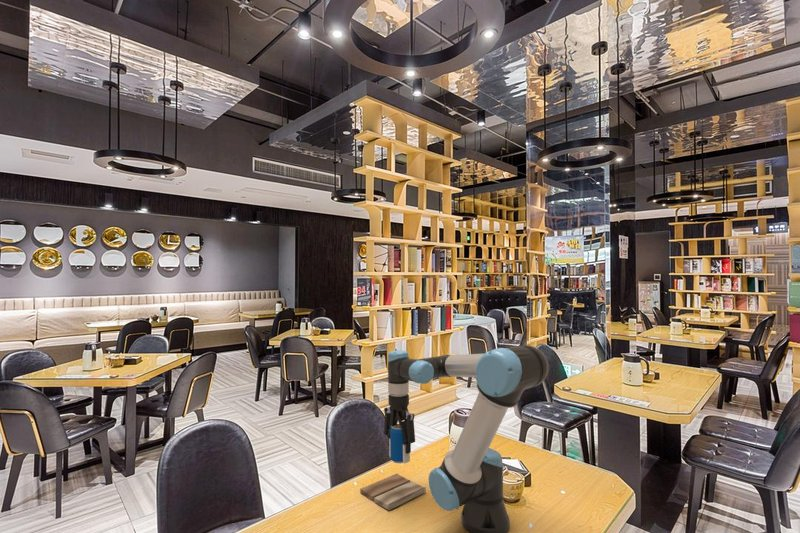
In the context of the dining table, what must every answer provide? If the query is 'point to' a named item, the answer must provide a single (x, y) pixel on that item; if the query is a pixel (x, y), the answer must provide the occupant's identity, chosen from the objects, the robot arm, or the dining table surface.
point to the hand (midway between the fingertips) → (399, 459)
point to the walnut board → (383, 486)
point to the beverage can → (396, 443)
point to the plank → (399, 495)
